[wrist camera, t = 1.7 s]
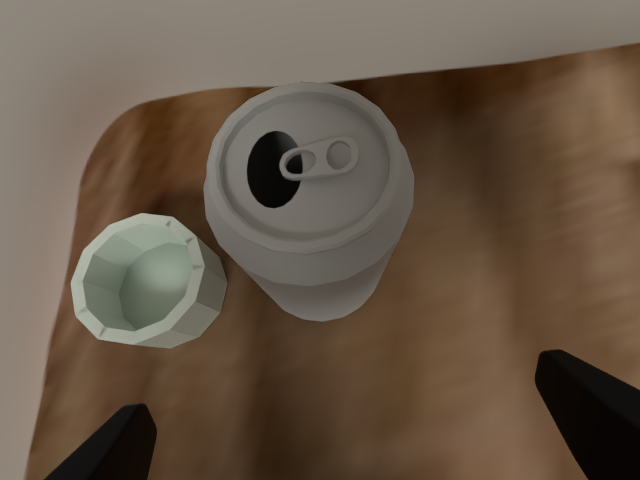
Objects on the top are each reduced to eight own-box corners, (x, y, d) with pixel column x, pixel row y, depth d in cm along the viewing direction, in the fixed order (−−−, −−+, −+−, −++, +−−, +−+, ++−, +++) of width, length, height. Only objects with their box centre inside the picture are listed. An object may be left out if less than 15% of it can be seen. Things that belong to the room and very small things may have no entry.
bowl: (210, 354, 20) (181, 352, 17) (102, 337, 21) (51, 331, 17) (236, 246, 23) (216, 222, 19) (138, 233, 23) (99, 208, 19)
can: (263, 212, 23) (194, 68, 12) (375, 206, 23) (410, 54, 12) (260, 325, 21) (169, 279, 10) (386, 320, 21) (445, 266, 9)
